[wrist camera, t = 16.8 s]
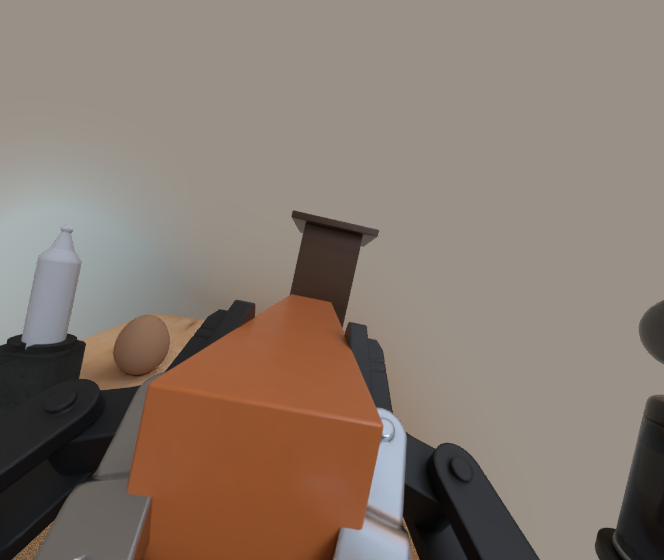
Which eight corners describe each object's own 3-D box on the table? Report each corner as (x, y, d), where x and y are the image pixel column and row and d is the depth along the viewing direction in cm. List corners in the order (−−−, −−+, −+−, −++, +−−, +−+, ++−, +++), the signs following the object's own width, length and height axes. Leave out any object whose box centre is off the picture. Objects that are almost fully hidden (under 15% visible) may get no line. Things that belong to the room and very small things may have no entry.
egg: (148, 361, 52) (159, 309, 52) (173, 375, 49) (184, 319, 48) (98, 371, 44) (111, 310, 44) (123, 389, 41) (137, 323, 41)
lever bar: (284, 324, 24) (291, 294, 24) (325, 332, 24) (331, 302, 24) (109, 563, 4) (146, 382, 4) (349, 597, 4) (385, 424, 4)
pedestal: (252, 425, 39) (295, 227, 39) (326, 439, 40) (369, 243, 39) (220, 491, 27) (282, 205, 27) (327, 511, 28) (390, 230, 27)
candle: (68, 451, 28) (113, 234, 28) (24, 492, 23) (78, 228, 23) (12, 449, 27) (58, 222, 26) (-48, 491, 22) (8, 213, 21)
